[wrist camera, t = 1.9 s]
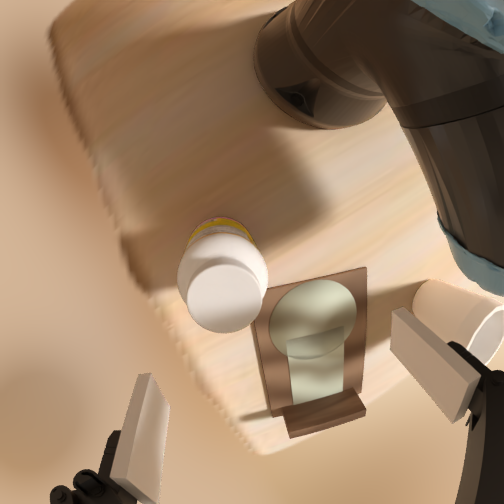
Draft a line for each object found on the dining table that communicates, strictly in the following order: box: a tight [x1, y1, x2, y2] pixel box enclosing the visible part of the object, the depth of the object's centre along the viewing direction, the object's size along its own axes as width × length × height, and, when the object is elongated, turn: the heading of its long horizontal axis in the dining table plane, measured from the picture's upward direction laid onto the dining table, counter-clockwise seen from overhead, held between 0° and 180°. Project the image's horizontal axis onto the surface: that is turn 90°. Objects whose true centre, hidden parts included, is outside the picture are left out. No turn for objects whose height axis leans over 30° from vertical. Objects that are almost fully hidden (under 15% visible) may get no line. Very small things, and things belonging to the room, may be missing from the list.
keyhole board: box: [254, 267, 367, 439], centre depth 32 cm, size 21×14×5 cm, turn 9°
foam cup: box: [412, 279, 504, 365], centre depth 29 cm, size 10×9×13 cm
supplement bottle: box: [177, 217, 268, 333], centre depth 23 cm, size 7×7×13 cm
